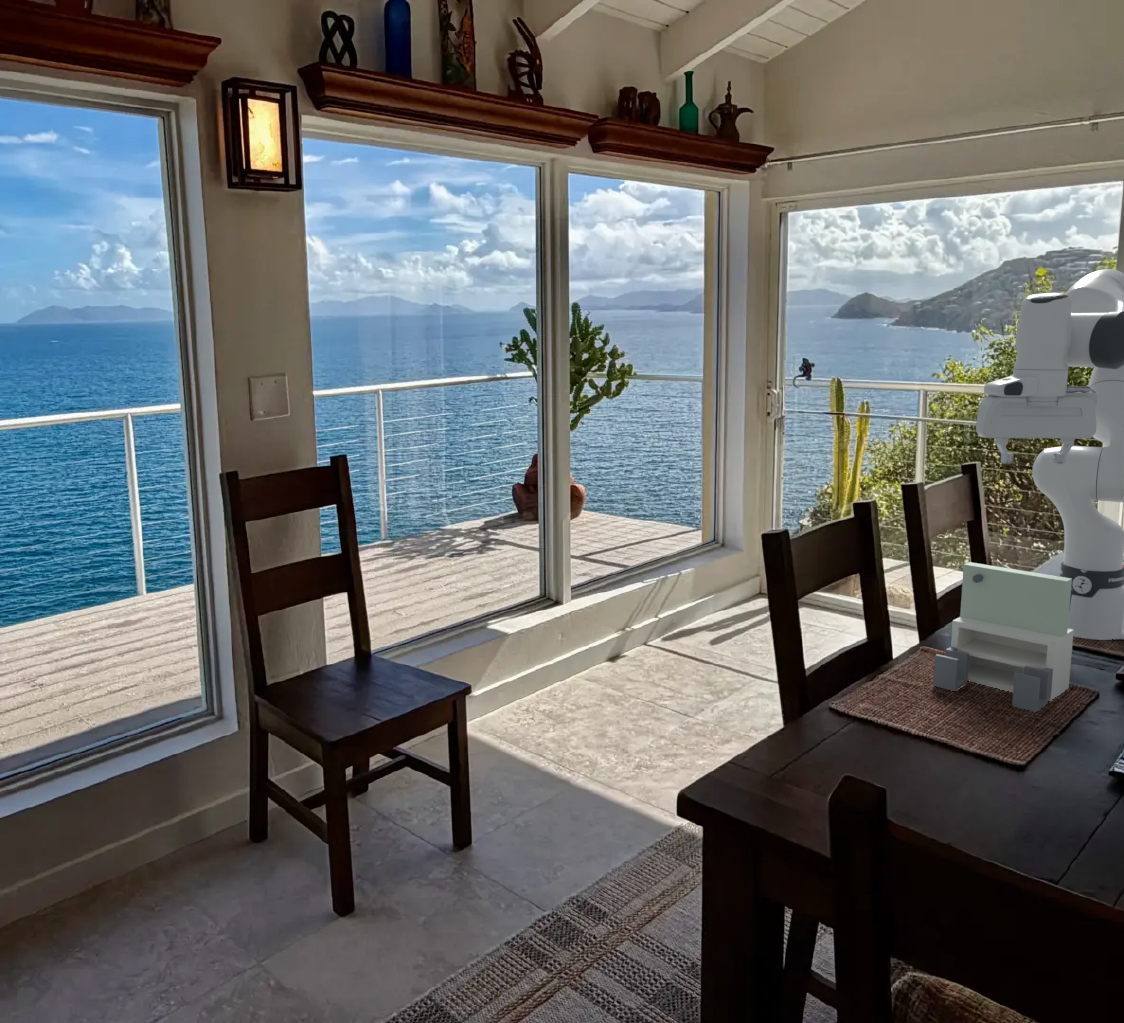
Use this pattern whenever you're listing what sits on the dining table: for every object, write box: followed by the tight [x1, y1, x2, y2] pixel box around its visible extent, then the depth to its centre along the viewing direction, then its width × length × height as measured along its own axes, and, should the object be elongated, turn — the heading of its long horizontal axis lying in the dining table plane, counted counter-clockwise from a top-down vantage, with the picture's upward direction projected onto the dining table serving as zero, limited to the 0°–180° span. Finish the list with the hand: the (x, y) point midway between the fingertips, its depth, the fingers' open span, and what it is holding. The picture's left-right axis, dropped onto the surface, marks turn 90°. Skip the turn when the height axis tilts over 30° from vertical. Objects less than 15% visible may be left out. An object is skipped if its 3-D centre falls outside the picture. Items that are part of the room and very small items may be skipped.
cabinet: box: [932, 616, 1074, 713], centre depth 182 cm, size 16×18×11 cm
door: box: [959, 561, 1072, 637], centre depth 182 cm, size 4×18×10 cm, turn 45°
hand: (1032, 463), depth 183 cm, fingers open, 8 cm apart
